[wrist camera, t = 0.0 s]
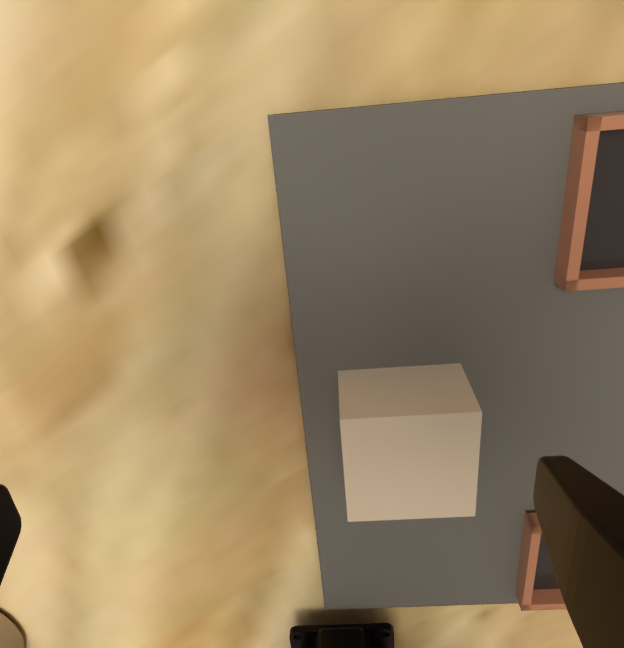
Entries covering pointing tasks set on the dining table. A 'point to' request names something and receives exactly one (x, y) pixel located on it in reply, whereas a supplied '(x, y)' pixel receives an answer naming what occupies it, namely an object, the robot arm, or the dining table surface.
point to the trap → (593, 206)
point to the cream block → (409, 442)
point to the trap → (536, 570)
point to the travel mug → (9, 634)
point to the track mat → (445, 318)
